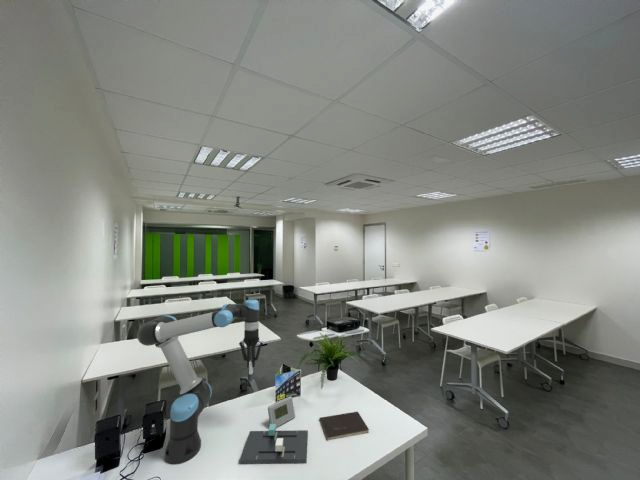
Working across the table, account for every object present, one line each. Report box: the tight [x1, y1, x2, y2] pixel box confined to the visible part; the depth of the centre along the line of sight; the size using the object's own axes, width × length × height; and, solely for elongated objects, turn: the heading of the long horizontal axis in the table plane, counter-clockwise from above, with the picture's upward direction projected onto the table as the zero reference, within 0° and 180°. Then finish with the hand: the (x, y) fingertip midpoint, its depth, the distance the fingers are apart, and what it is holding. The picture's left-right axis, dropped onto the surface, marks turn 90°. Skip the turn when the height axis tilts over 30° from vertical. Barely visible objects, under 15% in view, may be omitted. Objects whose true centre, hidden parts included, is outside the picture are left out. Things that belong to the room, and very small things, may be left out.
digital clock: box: [267, 396, 296, 428], centre depth 140 cm, size 16×9×11 cm, turn 120°
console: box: [238, 429, 309, 465], centre depth 121 cm, size 30×18×2 cm, turn 91°
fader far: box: [267, 423, 277, 436], centre depth 126 cm, size 3×4×4 cm
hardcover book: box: [318, 411, 370, 441], centre depth 136 cm, size 16×23×2 cm
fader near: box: [275, 438, 283, 452], centre depth 116 cm, size 3×4×4 cm
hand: (250, 373), depth 135 cm, fingers closed
